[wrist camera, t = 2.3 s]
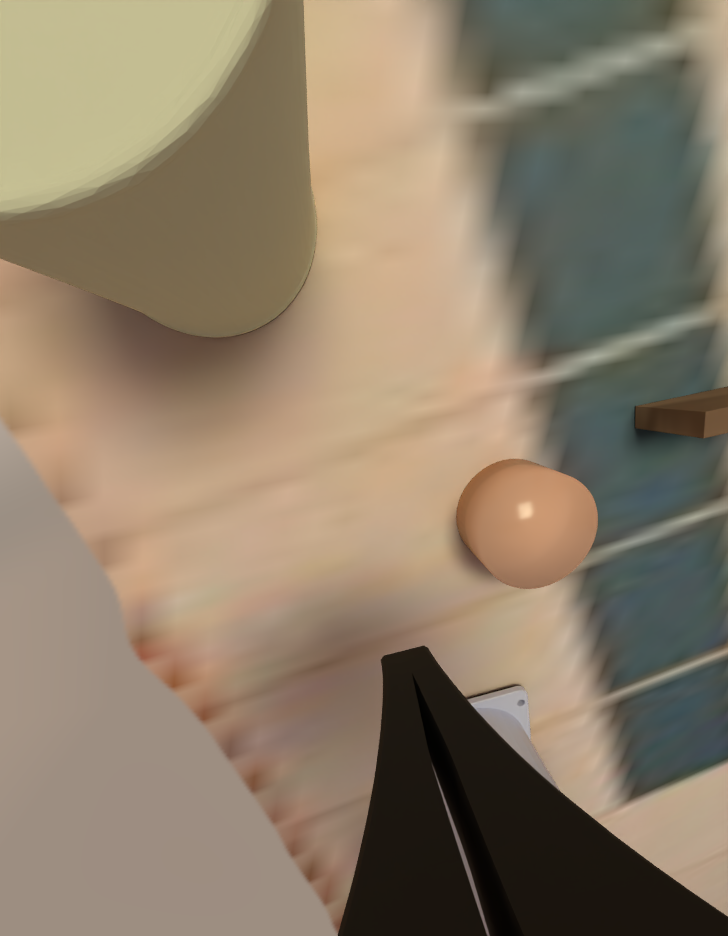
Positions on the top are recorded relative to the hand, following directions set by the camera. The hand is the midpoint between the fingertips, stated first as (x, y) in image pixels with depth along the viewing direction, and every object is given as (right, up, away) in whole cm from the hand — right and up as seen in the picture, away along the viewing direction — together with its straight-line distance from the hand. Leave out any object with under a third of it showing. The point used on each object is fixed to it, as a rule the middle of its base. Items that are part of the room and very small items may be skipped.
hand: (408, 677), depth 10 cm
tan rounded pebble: (+7, +4, +9) cm, 12 cm away
